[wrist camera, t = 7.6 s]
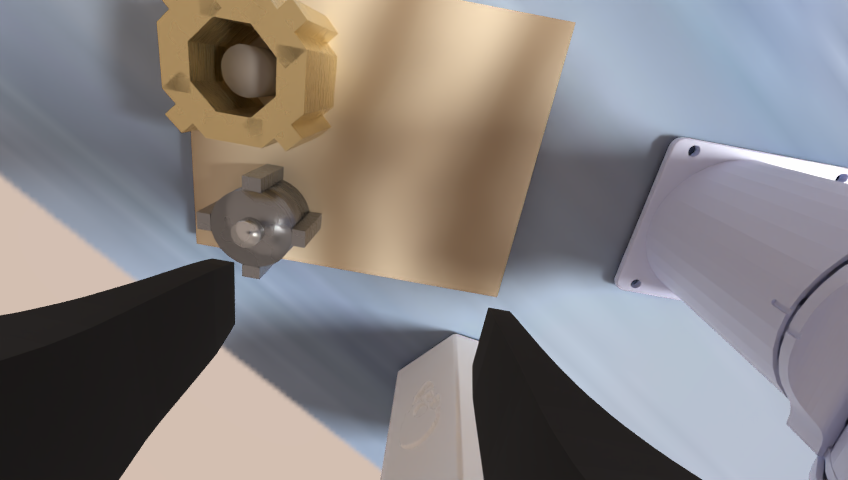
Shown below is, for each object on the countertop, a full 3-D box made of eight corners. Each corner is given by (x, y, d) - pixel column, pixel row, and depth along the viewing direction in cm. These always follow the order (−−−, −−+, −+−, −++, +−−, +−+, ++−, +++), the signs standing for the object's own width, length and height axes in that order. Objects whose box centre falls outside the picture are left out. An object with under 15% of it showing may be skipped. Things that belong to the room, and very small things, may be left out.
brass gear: (340, 17, 16) (309, -2, 12) (331, 139, 18) (301, 155, 14) (219, -5, 16) (152, -31, 12) (223, 120, 18) (165, 131, 14)
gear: (325, 174, 19) (303, 191, 16) (318, 263, 20) (297, 293, 18) (225, 156, 19) (185, 169, 16) (227, 247, 20) (191, 274, 17)
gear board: (568, 25, 17) (603, 9, 13) (494, 287, 22) (505, 330, 18) (195, -47, 16) (122, -85, 13) (207, 236, 21) (157, 269, 18)
